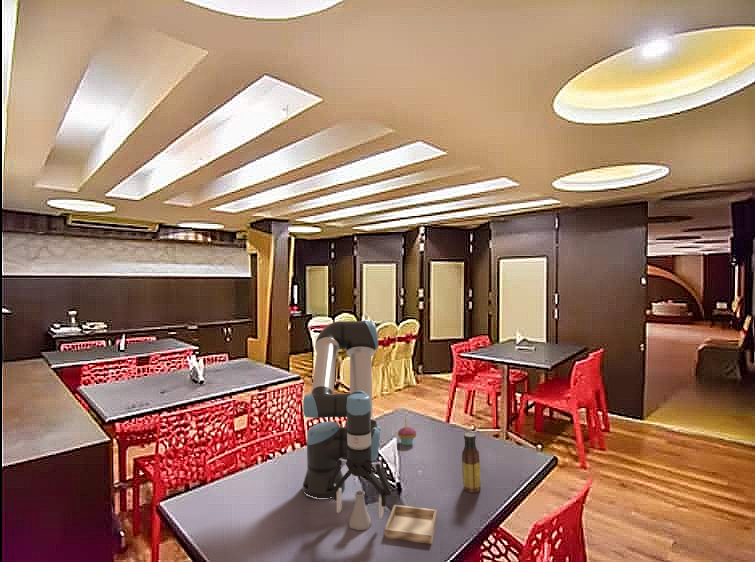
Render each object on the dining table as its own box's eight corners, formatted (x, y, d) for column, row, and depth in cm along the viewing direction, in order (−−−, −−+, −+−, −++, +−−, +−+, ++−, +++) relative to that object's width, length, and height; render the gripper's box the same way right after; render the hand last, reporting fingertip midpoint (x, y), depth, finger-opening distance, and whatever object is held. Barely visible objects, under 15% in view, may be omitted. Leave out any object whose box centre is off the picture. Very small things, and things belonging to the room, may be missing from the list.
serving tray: (384, 537, 129) (384, 529, 129) (394, 512, 143) (394, 504, 143) (431, 544, 126) (431, 535, 126) (437, 517, 140) (437, 509, 140)
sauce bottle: (478, 484, 161) (477, 431, 160) (482, 493, 155) (482, 437, 154) (460, 485, 161) (460, 431, 160) (464, 493, 154) (464, 437, 154)
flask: (368, 532, 132) (368, 499, 132) (345, 529, 134) (345, 497, 133) (373, 519, 139) (373, 488, 139) (352, 516, 141) (351, 486, 141)
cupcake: (395, 441, 203) (394, 415, 202) (412, 438, 205) (412, 413, 205) (401, 448, 194) (401, 421, 194) (419, 445, 197) (419, 419, 197)
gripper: (317, 446, 135) (318, 514, 135) (396, 453, 129) (396, 524, 129) (325, 437, 143) (326, 502, 143) (400, 444, 136) (401, 511, 137)
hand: (360, 513), depth 136 cm, fingers open, 13 cm apart
